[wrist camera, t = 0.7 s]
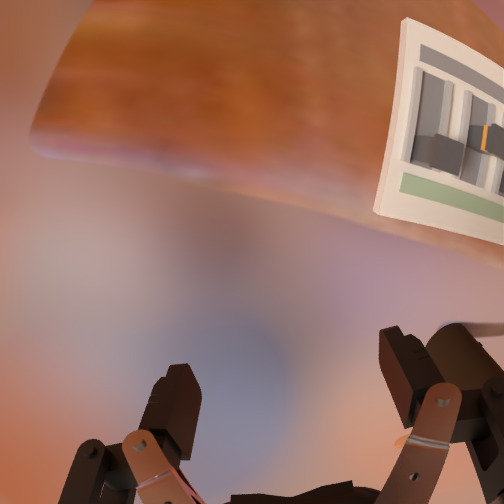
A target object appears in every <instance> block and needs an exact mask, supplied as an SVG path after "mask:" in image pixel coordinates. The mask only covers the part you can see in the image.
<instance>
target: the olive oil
mask: <svg viewBox="0 0 504 504" xmlns="http://www.w3.org/2000/svg"><path fill="white" fill-rule="evenodd" d="M425 348H426V350H427V352H428V353H429V355H430V357H431V358H432V360H433V361H434V363H435V365H436V366H437V368H438V370H439V371H440V373H441V375H442V376H443V378H444V380H445V381H446V383H451V384H453V385H455V386H456V387H458V388H459V390H473V389H481V388H482V386H483V384H484V383H485V382H486V381H487V380H488V379H490V378H492V377H503V378H504V371H503V370H502V369H501V367H500V366H499V365H498V364H497V363H496V362H495V361H494V360H493V358H492V357H491V356H490V355H489V354H488V353H487V352H486V351H485V350H484V348H483V347H482V344H481V343H480V342H477V341H476V339H475V338H474V337H473V336H472V335H471V334H470V333H469V332H468V330H467V329H466V328H465V327H464V326H462V325H461V324H450V325H447V326H445V327H443V328H442V329H440V330H439V331H437V332H436V333H435V334H434V335H433V336H432V337H431V339H430V340H429V341H428V343H427V345H426V347H425Z"/></svg>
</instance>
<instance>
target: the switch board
mask: <svg viewBox="0 0 504 504" xmlns="http://www.w3.org/2000/svg"><path fill="white" fill-rule="evenodd" d="M491 123H493V124H497V125H499V126H501V127H502V128H504V69H503V68H502V67H500V66H499V65H497V64H496V63H494V62H493V61H491V60H489V59H488V58H486V57H485V56H483V55H481V54H480V53H478V52H476V51H475V50H473V49H471V48H470V47H468V46H466V45H464V44H462V43H461V42H459V41H457V40H455V39H453V38H451V37H449V36H447V35H445V34H443V33H441V32H439V31H437V30H435V29H433V28H431V27H429V26H426V25H424V24H422V23H420V22H417V21H415V20H413V19H410V18H408V17H407V18H406V19H404V20H403V21H401V30H400V45H399V57H398V67H397V77H396V85H395V93H394V101H393V108H392V115H391V121H390V127H389V134H388V139H387V145H386V150H385V156H384V161H383V166H382V171H381V176H380V181H379V185H378V190H377V194H376V199H375V203H374V207H373V211H374V212H375V213H377V214H378V215H382V216H387V217H392V218H396V219H401V220H405V221H410V222H414V223H419V224H423V225H427V226H431V227H435V228H440V229H444V230H448V231H452V232H456V233H460V234H464V235H467V236H471V237H475V238H479V239H482V240H486V241H490V242H493V243H497V244H500V245H504V160H502V159H500V158H497V157H495V156H491V155H486V154H481V153H479V152H477V151H475V150H472V149H470V148H468V147H466V143H467V137H468V130H469V125H478V126H484V125H488V126H491Z"/></svg>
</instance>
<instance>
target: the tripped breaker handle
mask: <svg viewBox="0 0 504 504" xmlns="http://www.w3.org/2000/svg"><path fill="white" fill-rule="evenodd" d="M466 147H468V148H470V149H472V150H475V151H477V152H479V153H481V154H486V155H491V156H495V157H497V158H500V159H502V160H504V128H502V127H501V126H499V125H497V124H493V123H491V126H488V125H484V126H478V125H469V130H468V137H467V143H466Z"/></svg>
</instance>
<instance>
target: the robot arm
mask: <svg viewBox="0 0 504 504" xmlns="http://www.w3.org/2000/svg"><path fill="white" fill-rule="evenodd" d="M379 364H380V368H381V371H382V373H383V376H384V378H385V381H386V383H387V386H388V388H389V390H390V393H391V395H392V398H393V400H394V402H395V405H396V408H397V410H398V413H399V415H400V418H401V421H402V423H403V426H404V428H405V429H407V428H409V427H413V429H412V432H411V434H410V436H409V437H408V439H407V440H406V442H405V445H404V447H403V449H402V451H401V453H400V455H399V458H398V460H397V462H396V464H395V466H394V468H393V470H392V472H391V474H390V476H389V478H388V479H387V481H386V483H385V485H384V487H383V489H382V491H379V490H376V489H372V488H367V487H353V483H352V480H351V481H346V482H341V483H336V484H331V485H326V486H321V487H319V488H316V489H314V490H311V491H308V492H305V493H303V494H300V495H297V496H294V497H282V496H274V495H266V494H241V495H231V501H230V502H227V503H224V504H428V502H429V500H430V498H431V496H432V493H433V491H434V489H435V486H436V484H437V481H438V479H439V476H440V474H441V471H442V468H443V465H444V463H445V460H446V457H447V454H448V451H449V447H450V446H449V443H458V442H465V443H466V445H467V448H468V451H469V453H470V456H471V459H472V461H473V464H474V467H475V470H476V473H477V476H478V478H479V481H480V484H481V488H482V491H483V494H484V497H485V500H486V504H504V378H503V377H492V378H490V379H488V380H487V381H486V382H485V383H484V384H483V386H482V388H481V389H473V390H459V388H458V387H456V386H455V385H453V384H451V383H446V381H445V380H444V378H443V376H442V375H441V373H440V371H439V370H438V368H437V366H436V365H435V363H434V361H433V360H432V358H431V357H430V355H429V353H428V352H427V350H426V348H425V347H424V345H423V344H422V342H421V341H420V340H419V339H418V338H416V337H415V336H413V335H412V334H409V335H406V336H404V335H403V333H402V331H401V330H400V328H399V327H398V326H393V327H389V328H385V329H381V330H380V332H379ZM201 401H202V394H201V389H200V386H199V384H198V382H197V380H196V378H195V376H194V374H193V372H192V370H191V368H190V366H189V365H188V364H187V363H186V364H175V365H170V366H169V369H168V371H167V375H166V377H161V378H160V379H159V380H158V381H157V383H156V384H155V385H154V387H153V389H152V392H151V396H150V397H149V400H148V404H147V406H146V408H145V411H144V414H143V417H142V420H141V422H140V425H139V428H138V430H136V431H133V432H131V433H129V434H128V435H127V436H126V437H125V439H124V440H123V443H119V444H114V445H109V446H105V445H104V444H103V443H102V442H101V441H100V440H97V439H90V440H87V441H85V442H84V443H82V444H81V445H80V447H79V448H78V450H77V453H76V455H75V458H74V461H73V463H72V466H71V468H70V471H69V474H68V477H67V479H66V482H65V485H64V488H63V491H62V494H61V497H60V500H59V502H58V504H134V498H135V494H136V490H137V493H138V495H139V497H140V499H141V501H142V503H143V504H206V503H205V502H204V501H203V500H202V498H201V497H200V496H199V494H198V493H197V492H196V490H195V489H194V487H193V486H192V485H191V483H190V482H189V480H188V479H187V478H186V476H185V475H184V473H183V472H182V470H181V469H180V468H179V465H180V460H190V458H191V453H192V447H193V442H194V437H195V432H196V426H197V421H198V416H199V411H200V406H201ZM103 484H104V487H103ZM102 488H103V490H102ZM101 491H102V494H101ZM100 495H101V497H100Z"/></svg>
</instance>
